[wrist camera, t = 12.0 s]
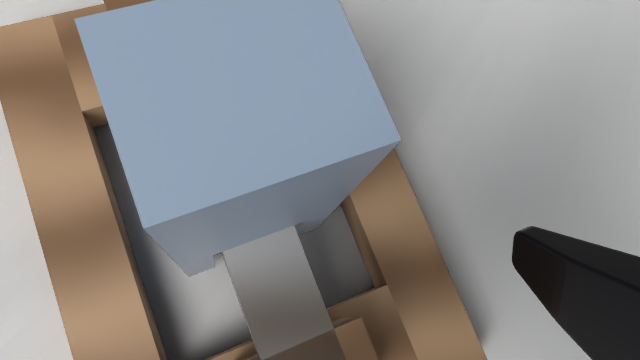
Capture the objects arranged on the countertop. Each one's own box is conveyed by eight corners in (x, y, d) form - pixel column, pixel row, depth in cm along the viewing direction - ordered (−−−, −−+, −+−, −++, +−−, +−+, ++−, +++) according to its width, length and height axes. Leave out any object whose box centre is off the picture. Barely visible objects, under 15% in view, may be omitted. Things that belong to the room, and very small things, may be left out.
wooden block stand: (469, 363, 24) (536, 375, 19) (136, 526, 20) (103, 600, 15) (304, -18, 28) (321, -95, 23) (0, 53, 24) (-64, -20, 19)
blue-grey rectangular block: (277, 132, 24) (321, -38, 13) (316, 228, 23) (401, 139, 12) (153, 171, 22) (74, 18, 11) (188, 276, 21) (143, 228, 10)
